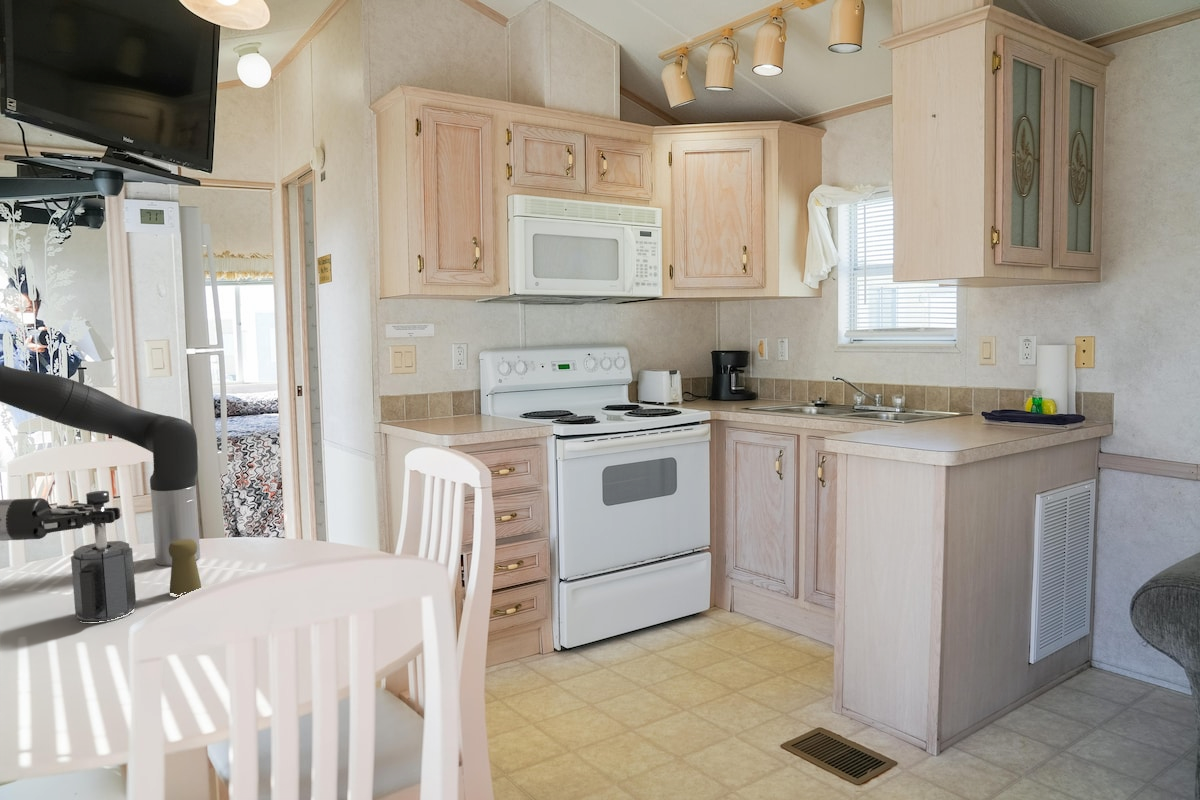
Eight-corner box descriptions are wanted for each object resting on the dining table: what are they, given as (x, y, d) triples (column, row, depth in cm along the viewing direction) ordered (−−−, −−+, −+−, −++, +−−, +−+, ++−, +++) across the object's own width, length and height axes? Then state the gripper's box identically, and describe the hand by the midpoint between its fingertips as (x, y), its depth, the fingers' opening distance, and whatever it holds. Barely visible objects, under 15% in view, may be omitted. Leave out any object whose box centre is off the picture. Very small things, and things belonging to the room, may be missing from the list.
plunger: (94, 596, 158) (86, 490, 156) (130, 594, 159) (122, 488, 157) (79, 608, 152) (70, 497, 149) (117, 606, 153) (108, 496, 150)
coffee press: (90, 607, 159) (85, 541, 158) (142, 603, 161) (138, 539, 160) (60, 631, 147) (55, 560, 146) (117, 627, 149) (112, 557, 148)
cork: (188, 598, 164) (185, 545, 162) (162, 596, 165) (158, 543, 164) (208, 588, 170) (205, 536, 168) (183, 586, 171) (179, 535, 170)
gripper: (-8, 508, 144) (99, 504, 147) (32, 491, 157) (129, 487, 160) (-4, 550, 145) (102, 544, 148) (35, 529, 158) (132, 525, 161)
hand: (116, 515), depth 154 cm, fingers closed on plunger, 2 cm apart
